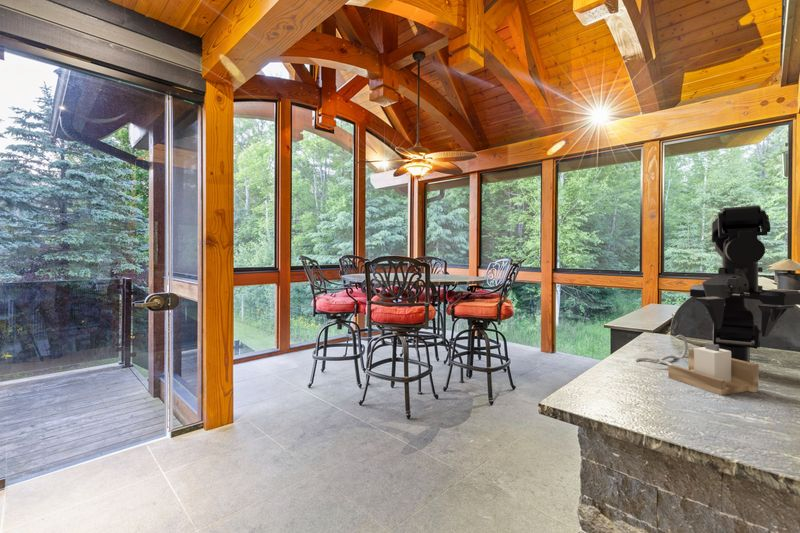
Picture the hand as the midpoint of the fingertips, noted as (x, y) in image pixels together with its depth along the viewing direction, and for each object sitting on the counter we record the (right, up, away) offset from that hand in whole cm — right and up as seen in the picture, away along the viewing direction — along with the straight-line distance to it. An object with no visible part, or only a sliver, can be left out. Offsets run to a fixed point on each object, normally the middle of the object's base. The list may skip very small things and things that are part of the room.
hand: (740, 332), depth 83 cm
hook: (-1, -13, +21) cm, 25 cm away
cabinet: (-4, -11, +2) cm, 12 cm away
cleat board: (-4, -13, +3) cm, 14 cm away
